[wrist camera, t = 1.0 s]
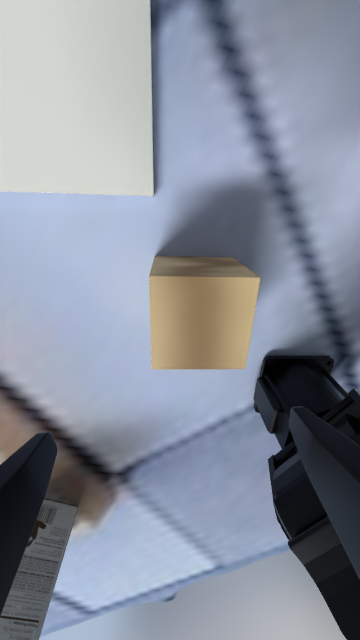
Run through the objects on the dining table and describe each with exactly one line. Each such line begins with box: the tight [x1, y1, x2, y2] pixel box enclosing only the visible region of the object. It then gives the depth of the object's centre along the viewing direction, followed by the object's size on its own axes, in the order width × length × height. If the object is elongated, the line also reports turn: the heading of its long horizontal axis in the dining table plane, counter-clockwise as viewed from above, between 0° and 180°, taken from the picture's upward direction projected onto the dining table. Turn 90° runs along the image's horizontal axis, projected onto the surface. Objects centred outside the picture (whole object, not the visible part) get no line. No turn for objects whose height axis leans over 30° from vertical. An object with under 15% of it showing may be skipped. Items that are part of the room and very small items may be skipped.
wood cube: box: [149, 256, 260, 369], centre depth 17 cm, size 6×6×6 cm
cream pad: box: [0, 0, 154, 196], centre depth 13 cm, size 12×12×1 cm
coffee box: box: [0, 499, 78, 640], centre depth 25 cm, size 9×6×16 cm
